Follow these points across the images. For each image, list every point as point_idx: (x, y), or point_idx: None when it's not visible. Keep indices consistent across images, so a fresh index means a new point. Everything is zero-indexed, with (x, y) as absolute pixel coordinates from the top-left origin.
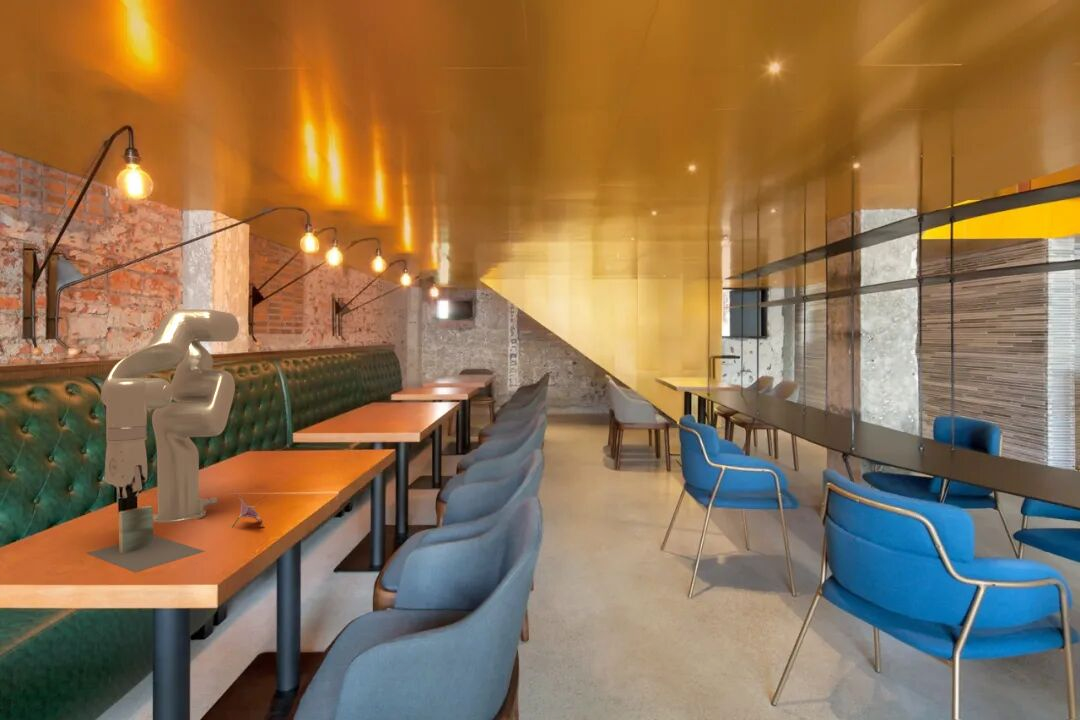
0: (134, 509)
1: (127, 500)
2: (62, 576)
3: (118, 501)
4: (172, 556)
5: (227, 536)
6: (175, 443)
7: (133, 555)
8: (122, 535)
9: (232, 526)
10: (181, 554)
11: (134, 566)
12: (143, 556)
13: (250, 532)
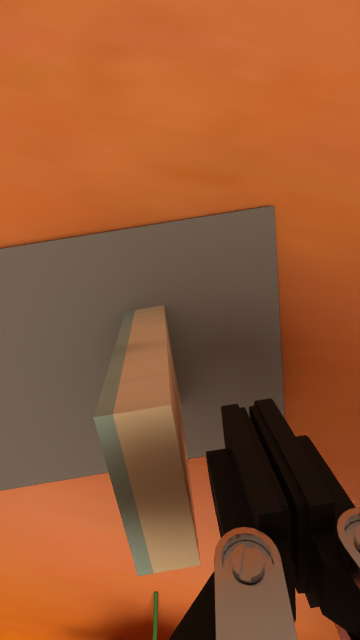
0: (156, 492)
1: (222, 532)
2: (44, 53)
3: (309, 474)
4: None
5: (100, 574)
6: None
7: (68, 330)
8: (125, 339)
9: (155, 611)
10: None
11: None
12: (24, 352)
13: (88, 618)
